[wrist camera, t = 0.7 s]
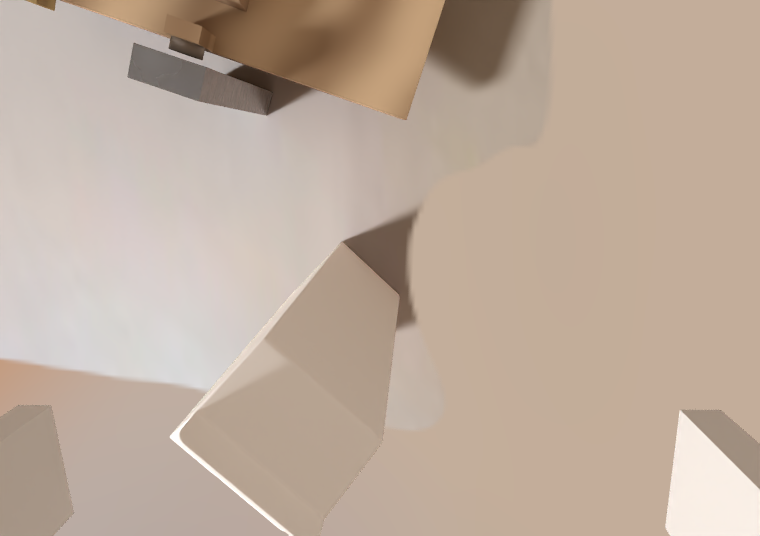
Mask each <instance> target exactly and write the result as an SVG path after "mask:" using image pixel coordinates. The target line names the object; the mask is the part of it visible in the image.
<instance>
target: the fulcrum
mask: <svg viewBox="0 0 760 536" xmlns="http://www.w3.org/2000/svg"><path fill="white" fill-rule="evenodd" d="M128 78H131V79H134V80H137V81H140V82H143V83H146V84H149V85H152V86H155V87H158V88H161V89H164V90H167V91H170V92H173V93H176V94H179V95H182V96H185V97H188V98H191V99H194V100H196V101H200V102H205V103H209V104H214V105H219V106H224V107H228V108H233V109H238V110H243V111H247V112H252V113H257V114H262V115H267V113H268V109H269V105H270V101H271V97H272V93H273V92H270V91H267V90H265V89H262V88H260V87H257V86H254V85H252V84H249V83H246V82H244V81H241V80H238V79H236V78H233V77H230V76H228V75H225V74H223V73H220V72H217V71H215V70H212V69H209V68H207V67H204V66H201V65H198V64H195V63H192V62H189V61H186V60H183V59H180V58H177V57H174V56H171V55H168V54H165V53H162V52H159V51H156V50H153V49H151V48H148V47H145V46H142V45H139V44H136V43H134V44H133V49H132V55H131V60H130V66H129V72H128Z"/></svg>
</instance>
